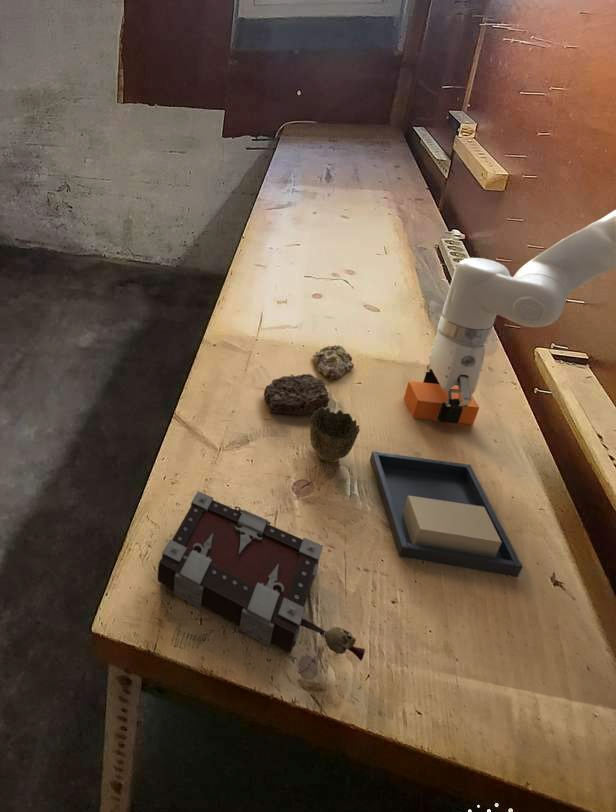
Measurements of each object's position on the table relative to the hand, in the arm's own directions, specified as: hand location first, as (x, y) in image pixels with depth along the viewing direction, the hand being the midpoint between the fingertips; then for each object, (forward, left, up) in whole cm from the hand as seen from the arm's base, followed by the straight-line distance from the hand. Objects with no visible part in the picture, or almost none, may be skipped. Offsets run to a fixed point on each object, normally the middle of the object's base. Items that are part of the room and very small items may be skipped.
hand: (438, 404), depth 106 cm
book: (+34, +44, -1) cm, 56 cm away
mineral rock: (+17, -11, -1) cm, 20 cm away
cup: (+22, +17, -1) cm, 28 cm away
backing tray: (+8, +26, -1) cm, 27 cm away
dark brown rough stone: (+26, +3, -1) cm, 26 cm away
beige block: (+8, +31, -1) cm, 32 cm away
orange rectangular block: (0, 0, -1) cm, 1 cm away
